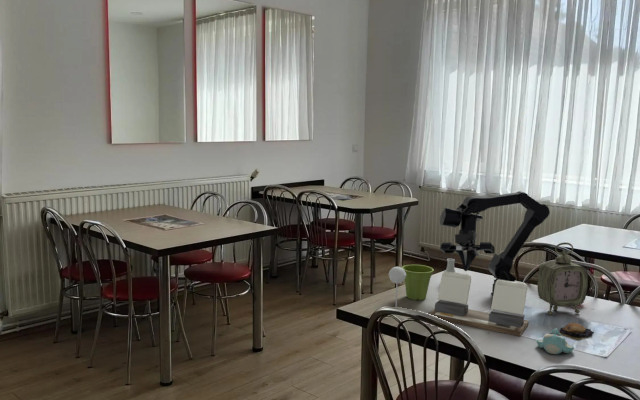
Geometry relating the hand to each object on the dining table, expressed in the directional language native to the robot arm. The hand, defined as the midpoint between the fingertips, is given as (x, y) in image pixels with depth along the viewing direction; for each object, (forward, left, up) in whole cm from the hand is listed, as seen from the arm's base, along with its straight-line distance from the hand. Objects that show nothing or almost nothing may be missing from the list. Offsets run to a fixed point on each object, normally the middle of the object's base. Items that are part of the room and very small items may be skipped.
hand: (465, 270), depth 210 cm
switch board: (+4, +18, -12) cm, 22 cm away
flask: (-7, -25, -12) cm, 28 cm away
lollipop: (+26, 0, -12) cm, 29 cm away
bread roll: (-21, +34, -13) cm, 42 cm away
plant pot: (+14, -10, -12) cm, 21 cm away
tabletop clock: (-29, +15, -12) cm, 35 cm away
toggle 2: (-2, +25, -8) cm, 26 cm away
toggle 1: (+11, +12, -8) cm, 18 cm away
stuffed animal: (-6, +44, -13) cm, 46 cm away
